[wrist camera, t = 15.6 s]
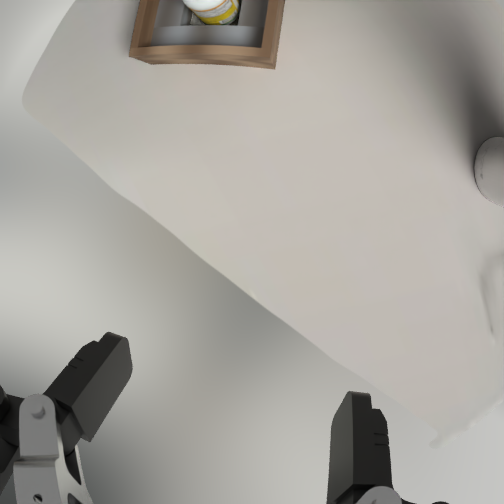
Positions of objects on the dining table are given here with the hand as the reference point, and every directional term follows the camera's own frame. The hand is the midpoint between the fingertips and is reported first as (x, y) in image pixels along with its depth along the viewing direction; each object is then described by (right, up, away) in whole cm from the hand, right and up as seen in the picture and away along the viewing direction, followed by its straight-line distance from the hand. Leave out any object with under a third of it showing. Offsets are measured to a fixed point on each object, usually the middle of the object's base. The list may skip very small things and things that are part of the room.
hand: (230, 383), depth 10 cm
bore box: (-3, +35, +20) cm, 40 cm away
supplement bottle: (-3, +35, +20) cm, 40 cm away
